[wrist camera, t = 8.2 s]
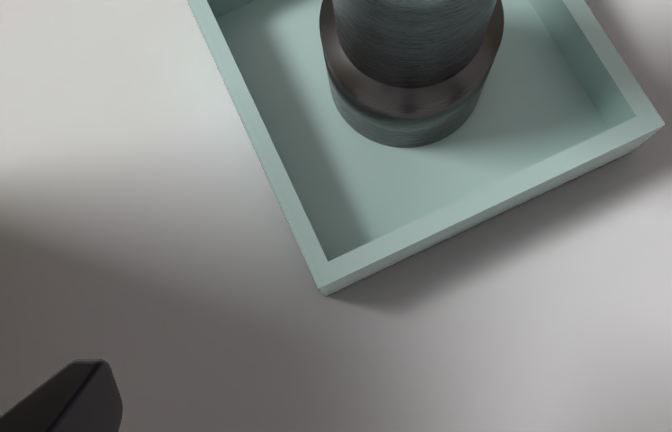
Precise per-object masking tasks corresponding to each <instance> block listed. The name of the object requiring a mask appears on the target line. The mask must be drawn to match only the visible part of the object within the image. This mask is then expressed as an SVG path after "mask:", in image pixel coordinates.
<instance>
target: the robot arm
mask: <svg viewBox="0 0 672 432" xmlns="http://www.w3.org/2000/svg"><path fill="white" fill-rule="evenodd" d="M122 409H123V407H122V400H121V397H120V394H119V391H118V388H117V385H116V382H115V379H114V376H113V373H112V371H111V368H110V366H109V364H108V363H107V362H106V361H105V360H102V359H79V360H75V361H73V362H71V363H70V364H68V365H67V366H66V367H64V368H63V369H62V370H60V371H59V372H58V373H56V374H55V375H54V376H53V377H51V378H50V379H49V380H47V381H46V382H45V383H43V384H42V385H41V386H40V387H38V388H37V389H36V390H34V391H33V392H32V393H31V394H29V395H28V396H27V397H25V398H24V399H23V400H21V401H20V402H19V403H18V404H16V405H15V406H14V407H12V408H11V409H10V410H8V411H7V412H6V413H5V414H3V415H2V416H1V417H0V432H118V430H119V426H120V423H121V418H122Z"/></svg>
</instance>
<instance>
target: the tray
mask: <svg viewBox="0 0 672 432" xmlns="http://www.w3.org/2000/svg"><path fill="white" fill-rule="evenodd" d="M187 1H188V4H189V6H190V8H191V10H192V13H193V15H194V17H195V19H196V21H197V24H198V26H199V28H200V30H201V32H202V35H203V37H204V39H205V41H206V43H207V46H208V48H209V50H210V52H211V54H212V57H213V59H214V61H215V63H216V65H217V68H218V70H219V72H220V74H221V76H222V79H223V81H224V83H225V85H226V87H227V90H228V92H229V94H230V96H231V98H232V101H233V103H234V105H235V107H236V109H237V112H238V114H239V116H240V118H241V120H242V123H243V125H244V127H245V129H246V131H247V134H248V136H249V138H250V140H251V142H252V145H253V147H254V149H255V151H256V153H257V156H258V158H259V160H260V162H261V164H262V167H263V169H264V171H265V173H266V175H267V178H268V180H269V182H270V184H271V186H272V189H273V191H274V193H275V195H276V197H277V200H278V202H279V204H280V206H281V208H282V211H283V213H284V215H285V217H286V219H287V222H288V224H289V226H290V228H291V230H292V233H293V235H294V237H295V239H296V241H297V244H298V246H299V248H300V250H301V252H302V255H303V257H304V259H305V261H306V263H307V266H308V268H309V270H310V272H311V275H312V277H313V279H314V281H315V283H316V286H317V288H318V289H319V290H320V291H321V292H322V293H323V294H324V295H325V296H328V295H330V294H332V293H334V292H336V291H338V290H341V289H343V288H345V287H347V286H349V285H351V284H353V283H355V282H357V281H360V280H362V279H364V278H366V277H368V276H370V275H372V274H374V273H377V272H379V271H381V270H383V269H385V268H387V267H389V266H391V265H393V264H396V263H398V262H400V261H402V260H404V259H406V258H408V257H410V256H412V255H415V254H417V253H419V252H421V251H423V250H425V249H427V248H429V247H431V246H434V245H436V244H438V243H440V242H442V241H444V240H446V239H448V238H451V237H453V236H455V235H457V234H459V233H461V232H463V231H465V230H467V229H470V228H472V227H474V226H476V225H478V224H480V223H482V222H484V221H486V220H489V219H491V218H493V217H495V216H497V215H499V214H501V213H503V212H506V211H508V210H510V209H512V208H514V207H516V206H518V205H520V204H522V203H525V202H527V201H529V200H531V199H533V198H535V197H537V196H539V195H541V194H544V193H546V192H548V191H550V190H552V189H554V188H556V187H558V186H560V185H563V184H565V183H567V182H569V181H571V180H573V179H575V178H577V177H580V176H582V175H584V174H586V173H588V172H590V171H592V170H594V169H596V168H599V167H601V166H603V165H605V164H607V163H609V162H611V161H613V160H615V159H618V158H620V157H622V156H624V155H626V154H628V153H630V152H632V151H634V150H635V149H636V148H637V147H639V146H640V145H641V144H642V143H644V142H645V141H646V140H647V139H649V138H650V137H651V136H652V135H653V134H655V133H656V132H657V131H658V130H660V129H661V128H662V127H663V126H665V125H666V124H665V123H664V121H663V120H662V118H661V117H660V115H659V114H658V112H657V111H656V109H655V108H654V106H653V104H652V103H651V101H650V100H649V98H648V97H647V95H646V94H645V92H644V91H643V89H642V88H641V86H640V85H639V83H638V82H637V80H636V78H635V77H634V75H633V74H632V72H631V71H630V69H629V68H628V66H627V65H626V63H625V62H624V60H623V59H622V57H621V55H620V54H619V52H618V51H617V49H616V48H615V46H614V45H613V43H612V42H611V40H610V39H609V37H608V36H607V34H606V33H605V31H604V29H603V28H602V26H601V25H600V23H599V22H598V20H597V19H596V17H595V16H594V14H593V13H592V11H591V10H590V8H589V6H588V5H587V3H586V2H585V0H501V1H502V5H503V10H504V30H503V36H502V40H501V44H500V46H499V49H498V51H497V54H496V57H495V59H494V62H493V64H492V67H491V69H490V72H489V74H488V77H487V80H486V82H485V85H484V87H483V90H482V92H481V95H480V97H479V100H478V102H477V105H476V107H475V109H474V110H473V112H472V114H471V115H470V116H469V118H468V119H467V120H466V122H465V123H464V124H463V125H462V126H461V127H460V128H459V129H457V130H456V131H455V132H453V133H452V134H451V135H449V136H447V137H445V138H444V139H442V140H440V141H437V142H435V143H432V144H429V145H425V146H421V147H413V148H398V147H390V146H386V145H382V144H379V143H376V142H374V141H371V140H369V139H367V138H365V137H364V136H362V135H361V134H359V133H358V132H356V131H355V130H354V129H353V128H352V127H351V126H350V125H348V124H347V122H346V121H345V120H344V119H343V117H342V116H341V115H340V113H339V111H338V110H337V108H336V106H335V103H334V101H333V98H332V94H331V91H330V85H329V80H328V75H327V69H326V64H325V59H324V53H323V48H322V43H321V37H320V29H319V16H320V9H321V4H322V1H323V0H187Z"/></svg>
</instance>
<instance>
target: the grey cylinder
mask: <svg viewBox="0 0 672 432" xmlns="http://www.w3.org/2000/svg"><path fill="white" fill-rule="evenodd" d="M319 29H320V37H321V43H322V48H323V53H324V59H325V64H326V69H327V75H328V80H329V85H330V91H331V94H332V98H333V101H334V103H335V106H336V108H337V110H338V111H339V113H340V115H341V116H342V117H343V119H344V120H345V121H346V122H347V124H348V125H350V126H351V127H352V128H353V129H354V130H355V131H356V132H358V133H359V134H361V135H362V136H364V137H365V138H367V139H369V140H371V141H374V142H376V143H379V144H382V145H386V146H390V147H398V148H413V147H421V146H425V145H429V144H432V143H435V142H437V141H440V140H442V139H444V138H445V137H447V136H449V135H451V134H452V133H453V132H455V131H456V130H457V129H459V128H460V127H461V126H462V125H463V124H464V123H465V122H466V120H467V119H468V118H469V116H470V115H471V114H472V112H473V110H474V109H475V107H476V105H477V102H478V100H479V97H480V95H481V92H482V90H483V87H484V85H485V82H486V80H487V77H488V74H489V72H490V69H491V67H492V64H493V62H494V59H495V57H496V54H497V51H498V49H499V46H500V44H501V40H502V36H503V30H504V10H503V5H502V1H501V0H323V1H322V4H321V9H320V16H319Z"/></svg>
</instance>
